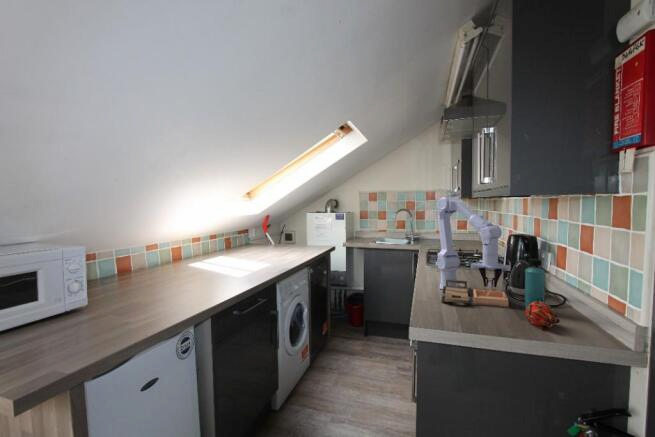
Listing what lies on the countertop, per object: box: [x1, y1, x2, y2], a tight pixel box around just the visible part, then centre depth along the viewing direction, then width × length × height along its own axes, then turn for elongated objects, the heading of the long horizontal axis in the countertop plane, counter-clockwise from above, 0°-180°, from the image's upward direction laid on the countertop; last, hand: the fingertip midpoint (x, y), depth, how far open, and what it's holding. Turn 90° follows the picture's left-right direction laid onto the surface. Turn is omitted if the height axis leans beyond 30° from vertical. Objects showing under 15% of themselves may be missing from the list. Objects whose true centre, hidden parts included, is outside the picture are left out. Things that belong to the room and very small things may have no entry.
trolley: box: [441, 279, 473, 306], centre depth 136 cm, size 20×11×6 cm, turn 158°
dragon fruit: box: [524, 301, 561, 329], centre depth 106 cm, size 8×8×12 cm
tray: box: [472, 288, 509, 309], centre depth 131 cm, size 12×12×3 cm
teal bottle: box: [524, 258, 546, 308], centre depth 119 cm, size 6×7×20 cm
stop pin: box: [485, 276, 495, 296], centre depth 131 cm, size 3×3×8 cm
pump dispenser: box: [508, 259, 535, 297], centre depth 140 cm, size 10×10×15 cm
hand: (489, 286), depth 131 cm, fingers closed on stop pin, 3 cm apart
